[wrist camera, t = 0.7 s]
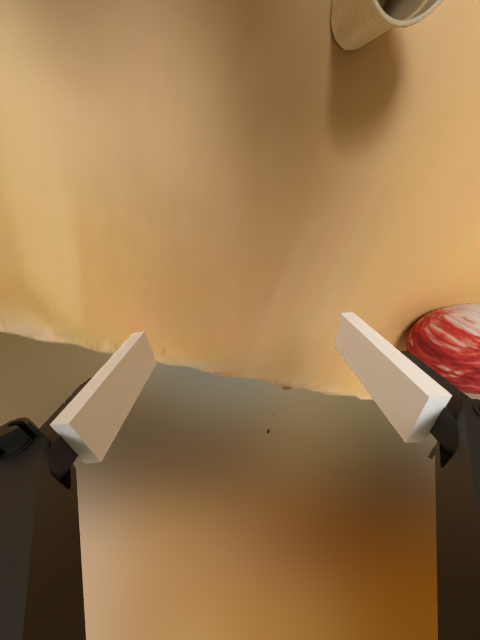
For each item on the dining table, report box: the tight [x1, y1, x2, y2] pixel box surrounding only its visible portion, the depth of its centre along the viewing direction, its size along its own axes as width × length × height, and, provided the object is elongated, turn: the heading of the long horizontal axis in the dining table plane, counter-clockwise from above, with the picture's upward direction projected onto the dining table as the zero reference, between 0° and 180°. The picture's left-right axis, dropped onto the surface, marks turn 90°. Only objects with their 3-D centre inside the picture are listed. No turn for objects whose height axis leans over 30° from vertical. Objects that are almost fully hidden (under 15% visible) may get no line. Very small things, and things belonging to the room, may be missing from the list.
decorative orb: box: [406, 303, 480, 394], centre depth 45 cm, size 21×20×20 cm
